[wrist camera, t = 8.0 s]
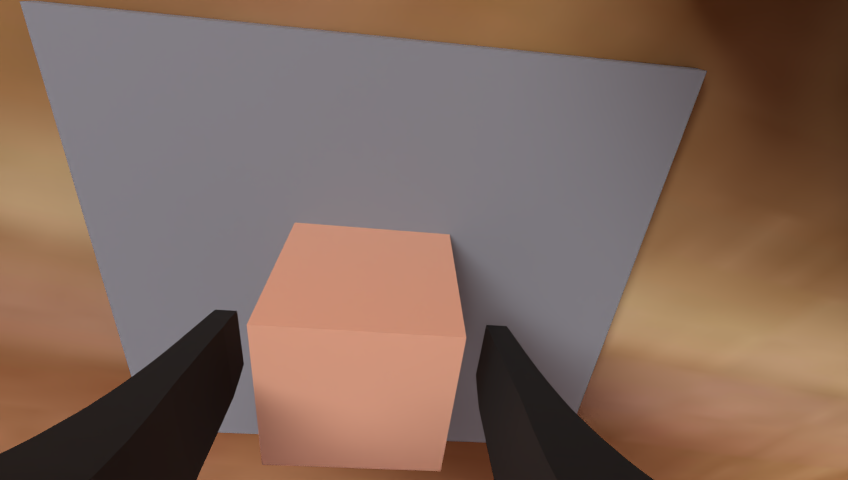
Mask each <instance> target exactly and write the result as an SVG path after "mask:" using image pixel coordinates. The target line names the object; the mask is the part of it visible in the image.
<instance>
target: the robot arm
mask: <svg viewBox="0 0 848 480" xmlns="http://www.w3.org/2000/svg"><path fill="white" fill-rule="evenodd" d="M243 366H244V360H243V353H242V345H241V337H240V330H239V322H238V314H237V311H232V310H214V311H213V312H212V313H210V314H209V315H208V316H207V317H205V318H204V319H203V320H202V321H201V322H200V323H198V324H197V325H196V326H195V327H194V328H192V329H191V330H190V331H189V332H188V333H187V334H185V335H184V336H183V337H182V338H181V339H179V340H178V341H177V342H176V343H175V344H173V345H172V346H171V347H170V348H168V349H167V350H166V351H165V352H164V353H162V354H161V355H160V356H159V357H157V358H156V359H155V360H154V361H152V362H151V363H150V364H148V365H147V366H146V367H144V368H143V369H142V370H140V371H139V372H138V373H136V374H135V375H134V376H132V377H131V378H130V379H128V380H127V381H126V382H124V383H123V384H121V385H120V386H118V387H117V388H115V389H114V390H112V391H111V392H109V393H108V394H106V395H105V396H103V397H102V398H100V399H99V400H97V401H95V402H94V403H92V404H91V405H89V406H88V407H86V408H84V409H83V410H81V411H79V412H78V413H76V414H74V415H72V416H71V417H69V418H67V419H65V420H63V421H62V422H60V423H58V424H56V425H55V426H53V427H51V428H49V429H48V430H46V431H44V432H42V433H40V434H39V435H37V436H35V437H33V438H31V439H29V440H27V441H25V442H23V443H21V444H19V445H17V446H15V447H13V448H11V449H9V450H7V451H5V452H3V453H1V454H0V480H197V477H198V475H199V472H200V470H201V468H202V466H203V464H204V461H205V459H206V457H207V455H208V453H209V451H210V448H211V446H212V444H213V442H214V440H215V437H216V435H217V433H218V431H219V429H220V427H221V424H222V422H223V420H224V418H225V416H226V413H227V411H228V409H229V407H230V404H231V402H232V400H233V398H234V395H235V392H236V389H237V385H238V382H239V379H240V376H241V372H242V369H243ZM476 384H477V395H478V405H479V411H480V416H481V421H482V426H483V430H484V435H485V439H486V444H487V449H488V453H489V458H490V462H491V467H492V472H493V476H494V480H653V479H652V478H651V477H649V476H648V475H646V474H645V473H644V472H642V471H641V470H640V469H638V468H637V467H636V466H635V465H633V464H632V463H631V462H629V461H628V460H627V459H626V458H624V457H623V456H622V455H621V454H620V453H619V452H617V451H616V450H615V449H614V448H613V447H611V446H610V445H609V444H608V443H607V442H606V441H604V440H603V439H602V438H601V437H600V436H599V435H598V434H597V433H596V432H594V431H593V430H592V429H591V428H590V427H589V426H588V425H587V424H586V423H585V422H584V421H583V420H582V419H581V418H580V417H579V416H578V415H577V414H576V413H575V412H574V411H573V410H572V409H571V408H570V407H569V405H568V404H567V403H566V402H565V401H564V400H563V399H562V398H561V396H560V395H559V394H558V393H557V392H556V391H555V389H554V388H553V387H552V386H551V385H550V383H549V382H548V381H547V380H546V378H545V377H544V376H543V375H542V373H541V372H540V371H539V370H538V368H537V367H536V366H535V364H534V363H533V362H532V360H531V359H530V358H529V356H528V355H527V354H526V352H525V351H524V349H523V348H522V347H521V345H520V344H519V342H518V341H517V340H516V338H515V337H514V335H513V334H512V332H511V331H510V330H509V328H508V327H507V326H497V325H486V329H485V334H484V338H483V343H482V348H481V353H480V357H479V362H478V367H477V372H476Z"/></svg>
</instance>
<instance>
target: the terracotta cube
mask: <svg viewBox="0 0 848 480" xmlns="http://www.w3.org/2000/svg"><path fill="white" fill-rule="evenodd" d="M247 332H248V341H249V350H250V359H251V369H252V378H253V387H254V396H255V405H256V414H257V423H258V432H259V441H260V450H261V460H262V465H288V466H315V467H342V468H369V469H397V470H424V471H441V466H442V461H443V456H444V451H445V446H446V440H447V435H448V430H449V425H450V420H451V415H452V409H453V404H454V399H455V394H456V389H457V384H458V379H459V373H460V368H461V363H462V358H463V353H464V348H465V343H466V332H465V326H464V320H463V314H462V307H461V301H460V295H459V289H458V283H457V277H456V271H455V264H454V258H453V252H452V246H451V240H450V234H438V233H425V232H412V231H399V230H386V229H373V228H360V227H347V226H334V225H321V224H308V223H294V225H293V227H292V229H291V231H290V234H289V236H288V238H287V240H286V242H285V244H284V246H283V248H282V251H281V253H280V255H279V257H278V259H277V261H276V263H275V265H274V268H273V270H272V272H271V274H270V276H269V278H268V280H267V282H266V285H265V287H264V289H263V291H262V293H261V295H260V297H259V299H258V302H257V304H256V306H255V308H254V310H253V312H252V314H251V316H250V319H249V321H248V323H247Z"/></svg>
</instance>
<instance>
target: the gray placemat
mask: <svg viewBox="0 0 848 480" xmlns="http://www.w3.org/2000/svg"><path fill="white" fill-rule="evenodd" d="M20 4H21V7H22V10H23V14H24V17H25V20H26V24H27V27H28V31H29V34H30V37H31V41H32V44H33V47H34V51H35V54H36V57H37V61H38V64H39V67H40V71H41V74H42V78H43V81H44V84H45V88H46V91H47V94H48V98H49V101H50V104H51V108H52V111H53V115H54V118H55V121H56V125H57V128H58V131H59V135H60V138H61V141H62V145H63V148H64V152H65V155H66V158H67V162H68V165H69V168H70V172H71V175H72V178H73V182H74V185H75V188H76V192H77V195H78V199H79V202H80V205H81V209H82V212H83V215H84V219H85V222H86V225H87V229H88V232H89V236H90V239H91V242H92V246H93V249H94V252H95V256H96V259H97V262H98V266H99V269H100V273H101V276H102V279H103V283H104V286H105V289H106V293H107V296H108V299H109V303H110V306H111V309H112V313H113V316H114V320H115V323H116V326H117V330H118V333H119V336H120V340H121V343H122V346H123V350H124V353H125V357H126V360H127V363H128V367H129V370H130V373H131V377H132V376H134V375H135V374H136V373H138V372H139V371H140V370H142V369H143V368H144V367H146V366H147V365H148V364H150V363H151V362H152V361H154V360H155V359H156V358H157V357H159V356H160V355H161V354H162V353H164V352H165V351H166V350H167V349H168V348H170V347H171V346H172V345H173V344H175V343H176V342H177V341H178V340H179V339H181V338H182V337H183V336H184V335H185V334H187V333H188V332H189V331H190V330H191V329H192V328H194V327H195V326H196V325H197V324H198V323H200V322H201V321H202V320H203V319H204V318H205V317H207V316H208V315H209V314H210V313H212V312H213V311H214V310H232V311H237V314H238V322H239V330H240V337H241V345H242V353H243V360H244V366H243V369H242V372H241V376H240V379H239V382H238V385H237V389H236V392H235V395H234V398H233V400H232V402H231V404H230V407H229V409H228V411H227V413H226V416H225V418H224V420H223V422H222V424H221V427H220V429H219V431H218V432H221V433H248V434H259V432H258V423H257V414H256V405H255V396H254V387H253V378H252V369H251V359H250V350H249V341H248V332H247V323H248V321H249V319H250V316H251V314H252V312H253V310H254V308H255V306H256V304H257V302H258V299H259V297H260V295H261V293H262V291H263V289H264V287H265V285H266V282H267V280H268V278H269V276H270V274H271V272H272V270H273V268H274V265H275V263H276V261H277V259H278V257H279V255H280V253H281V251H282V248H283V246H284V244H285V242H286V240H287V238H288V236H289V234H290V231H291V229H292V227H293V225H294V223H308V224H321V225H334V226H347V227H360V228H373V229H386V230H399V231H412V232H425V233H438V234H450V240H451V246H452V252H453V258H454V264H455V271H456V277H457V283H458V289H459V295H460V301H461V307H462V314H463V320H464V326H465V332H466V343H465V348H464V353H463V358H462V363H461V368H460V373H459V379H458V384H457V389H456V394H455V399H454V404H453V409H452V415H451V420H450V425H449V430H448V435H447V440H446V441H461V442H486V439H485V435H484V430H483V426H482V421H481V416H480V411H479V405H478V395H477V384H476V372H477V367H478V362H479V357H480V353H481V348H482V343H483V338H484V334H485V329H486V325H497V326H507V327H508V328H509V330H510V331H511V332H512V334H513V335H514V337H515V338H516V340H517V341H518V342H519V344H520V345H521V347H522V348H523V349H524V351H525V352H526V354H527V355H528V356H529V358H530V359H531V360H532V362H533V363H534V364H535V366H536V367H537V368H538V370H539V371H540V372H541V373H542V375H543V376H544V377H545V378H546V380H547V381H548V382H549V383H550V385H551V386H552V387H553V388H554V389H555V391H556V392H557V393H558V394H559V395H560V396H561V398H562V399H563V400H564V401H565V402H566V403H567V404H568V405H569V407H570V408H571V409H572V410H573V411H574V412H575V413H576V414H577V412H578V409H579V407H580V404H581V402H582V399H583V396H584V394H585V391H586V388H587V386H588V383H589V380H590V378H591V375H592V373H593V370H594V367H595V365H596V362H597V359H598V357H599V354H600V351H601V349H602V346H603V344H604V341H605V338H606V336H607V333H608V330H609V328H610V325H611V322H612V320H613V317H614V315H615V312H616V309H617V307H618V304H619V301H620V299H621V296H622V294H623V291H624V288H625V286H626V283H627V280H628V278H629V275H630V272H631V270H632V267H633V265H634V262H635V259H636V257H637V254H638V251H639V249H640V246H641V243H642V241H643V238H644V236H645V233H646V230H647V228H648V225H649V222H650V220H651V217H652V214H653V212H654V209H655V207H656V204H657V201H658V199H659V196H660V193H661V191H662V188H663V185H664V183H665V180H666V178H667V175H668V172H669V170H670V167H671V164H672V162H673V159H674V156H675V154H676V151H677V149H678V146H679V143H680V141H681V138H682V135H683V133H684V130H685V128H686V125H687V122H688V120H689V117H690V114H691V112H692V109H693V106H694V104H695V101H696V99H697V96H698V93H699V91H700V88H701V85H702V83H703V80H704V77H705V75H706V72H707V71H704V70H701V69H698V68H690V67H680V66H670V65H660V64H650V63H641V62H631V61H621V60H611V59H601V58H592V57H582V56H572V55H562V54H552V53H542V52H533V51H523V50H513V49H503V48H493V47H484V46H474V45H464V44H454V43H444V42H434V41H425V40H415V39H405V38H395V37H385V36H376V35H366V34H356V33H346V32H336V31H326V30H317V29H307V28H297V27H287V26H277V25H268V24H258V23H248V22H238V21H228V20H218V19H209V18H199V17H189V16H179V15H169V14H160V13H150V12H140V11H130V10H120V9H110V8H101V7H91V6H81V5H71V4H61V3H52V2H42V1H20Z"/></svg>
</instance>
